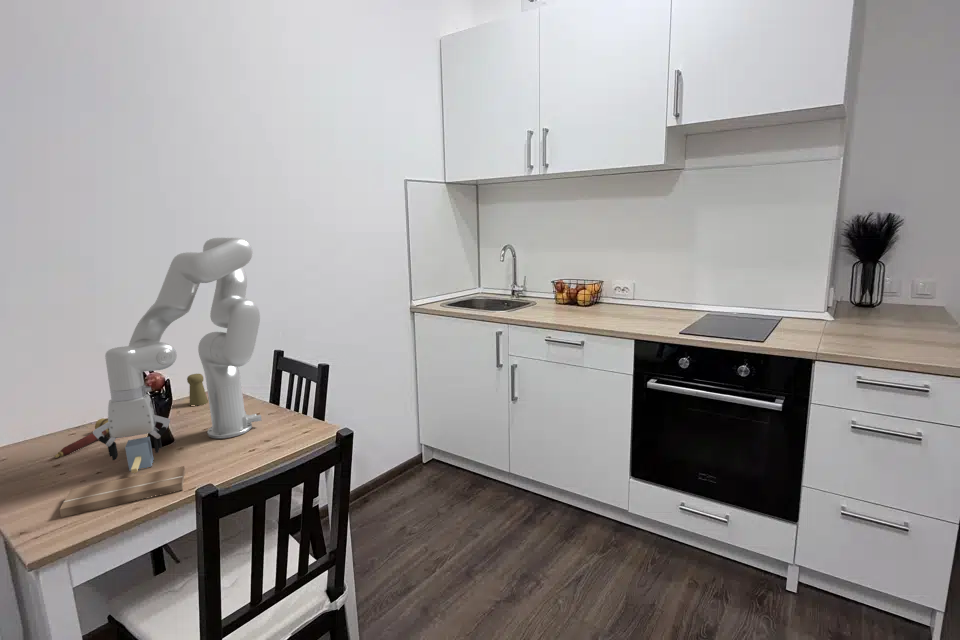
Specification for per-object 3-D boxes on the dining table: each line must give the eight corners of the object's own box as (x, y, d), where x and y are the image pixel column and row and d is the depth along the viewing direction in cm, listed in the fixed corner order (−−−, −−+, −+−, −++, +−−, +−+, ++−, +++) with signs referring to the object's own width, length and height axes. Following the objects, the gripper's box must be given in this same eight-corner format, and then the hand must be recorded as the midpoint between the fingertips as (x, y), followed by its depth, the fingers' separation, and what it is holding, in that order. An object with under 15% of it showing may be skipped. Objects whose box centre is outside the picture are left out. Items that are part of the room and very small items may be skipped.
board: (185, 473, 136) (184, 465, 136) (182, 490, 127) (181, 482, 127) (72, 496, 126) (71, 488, 126) (61, 517, 117) (59, 509, 117)
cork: (205, 399, 193) (201, 370, 191) (210, 403, 188) (205, 374, 186) (187, 403, 189) (183, 374, 187) (191, 407, 185) (187, 378, 182)
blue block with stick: (153, 460, 144) (149, 436, 143) (147, 480, 133) (143, 455, 132) (132, 464, 142) (128, 440, 141) (124, 485, 131) (119, 459, 129)
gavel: (67, 450, 145) (39, 448, 148) (71, 465, 146) (43, 462, 149) (131, 417, 165) (106, 415, 167) (134, 430, 166) (109, 428, 168)
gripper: (167, 385, 144) (174, 443, 147) (91, 394, 137) (100, 455, 139) (164, 392, 137) (172, 453, 140) (84, 402, 130) (94, 466, 133)
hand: (136, 454), depth 140 cm, fingers open, 9 cm apart
